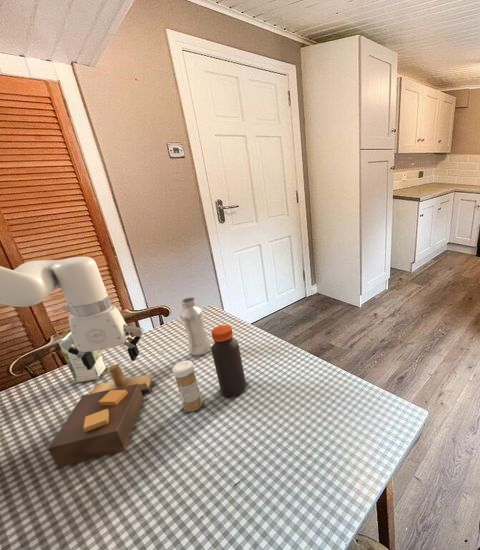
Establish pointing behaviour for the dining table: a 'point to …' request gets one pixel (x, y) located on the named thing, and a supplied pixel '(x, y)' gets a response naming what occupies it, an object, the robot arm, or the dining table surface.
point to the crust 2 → (113, 397)
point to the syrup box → (78, 367)
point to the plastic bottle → (194, 327)
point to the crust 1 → (96, 420)
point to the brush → (124, 381)
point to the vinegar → (228, 361)
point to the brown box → (102, 440)
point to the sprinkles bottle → (187, 385)
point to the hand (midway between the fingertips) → (113, 362)
